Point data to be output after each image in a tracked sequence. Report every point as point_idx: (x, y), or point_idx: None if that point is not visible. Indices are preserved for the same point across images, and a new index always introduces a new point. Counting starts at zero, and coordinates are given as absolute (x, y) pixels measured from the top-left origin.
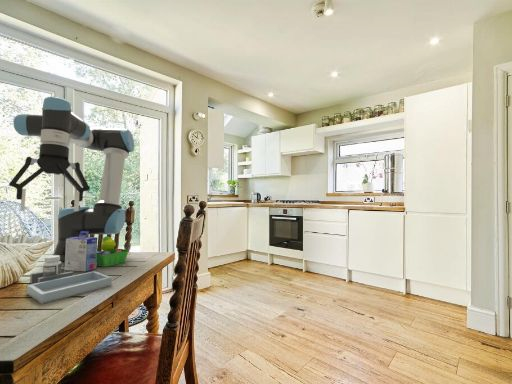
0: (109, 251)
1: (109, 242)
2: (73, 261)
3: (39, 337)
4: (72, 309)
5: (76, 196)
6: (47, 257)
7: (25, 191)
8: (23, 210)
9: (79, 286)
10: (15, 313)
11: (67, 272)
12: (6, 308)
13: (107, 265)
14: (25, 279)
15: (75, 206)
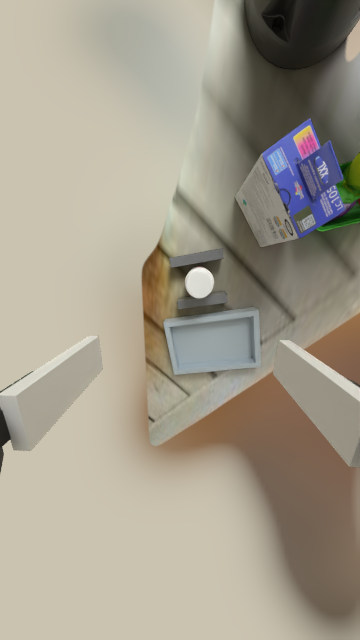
0: (353, 201)
1: None
2: (252, 213)
3: (167, 433)
4: (196, 402)
5: (319, 429)
6: (190, 289)
7: (43, 434)
8: (99, 369)
9: (215, 370)
10: (154, 376)
11: (219, 298)
12: (146, 356)
13: None
14: (167, 224)
15: (285, 377)
